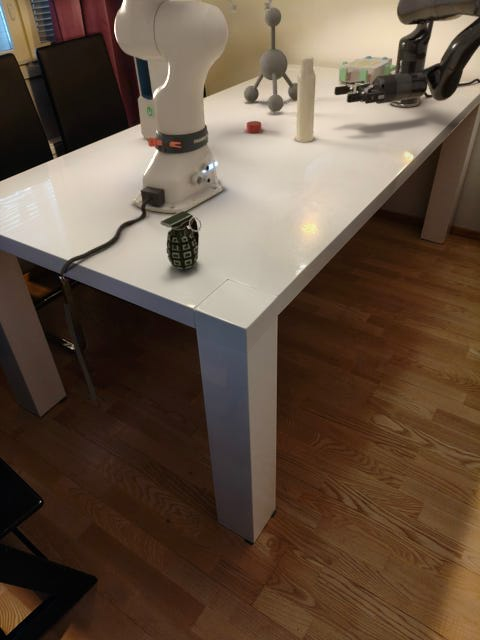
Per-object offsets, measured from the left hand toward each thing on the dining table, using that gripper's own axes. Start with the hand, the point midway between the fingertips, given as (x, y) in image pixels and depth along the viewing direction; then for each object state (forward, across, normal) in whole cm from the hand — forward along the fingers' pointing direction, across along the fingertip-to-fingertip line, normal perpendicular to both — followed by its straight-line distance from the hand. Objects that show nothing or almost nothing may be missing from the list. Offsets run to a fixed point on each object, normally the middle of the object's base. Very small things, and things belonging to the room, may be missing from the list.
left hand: (250, 11), depth 135 cm
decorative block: (+32, +52, +59) cm, 85 cm away
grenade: (+32, -21, -79) cm, 88 cm away
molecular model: (+32, +12, +30) cm, 45 cm away
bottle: (+32, +14, -12) cm, 37 cm away
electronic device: (+32, -29, -1) cm, 43 cm away
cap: (+30, 0, 0) cm, 30 cm away
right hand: (+21, +25, -9) cm, 34 cm away
